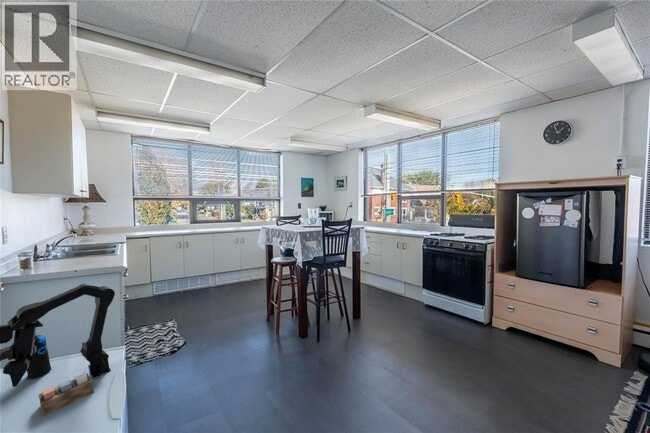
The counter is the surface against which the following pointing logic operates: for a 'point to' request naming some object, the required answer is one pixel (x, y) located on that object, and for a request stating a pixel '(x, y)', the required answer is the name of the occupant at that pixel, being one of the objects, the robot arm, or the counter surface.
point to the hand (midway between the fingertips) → (17, 380)
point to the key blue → (65, 386)
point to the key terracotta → (48, 393)
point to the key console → (66, 396)
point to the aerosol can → (39, 359)
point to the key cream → (81, 379)
